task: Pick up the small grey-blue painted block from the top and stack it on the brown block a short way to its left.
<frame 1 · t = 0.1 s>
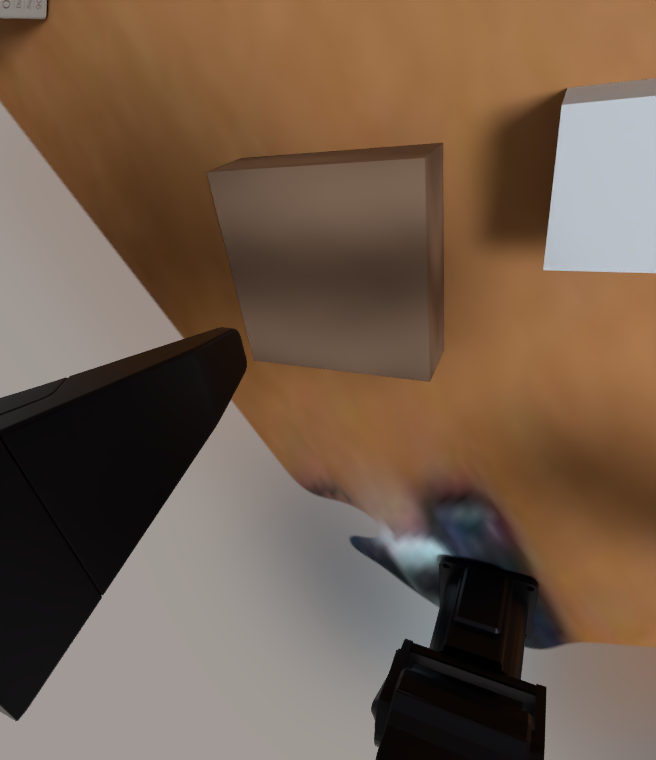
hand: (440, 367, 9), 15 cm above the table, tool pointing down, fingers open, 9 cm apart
grey-blue block: (632, 157, 18), on the table
brown block: (345, 257, 25), on the table
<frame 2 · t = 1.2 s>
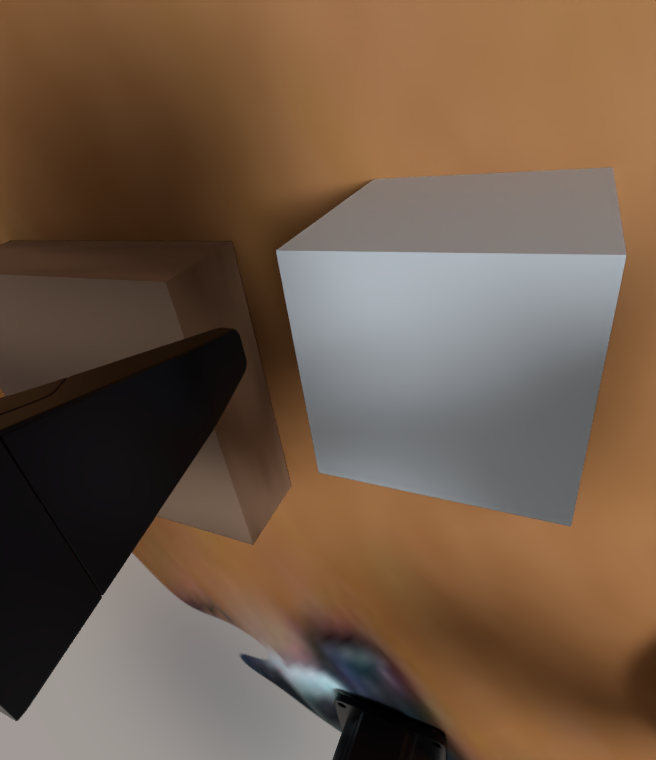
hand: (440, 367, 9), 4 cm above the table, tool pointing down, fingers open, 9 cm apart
grey-blue block: (478, 280, 12), on the table
brown block: (155, 367, 19), on the table
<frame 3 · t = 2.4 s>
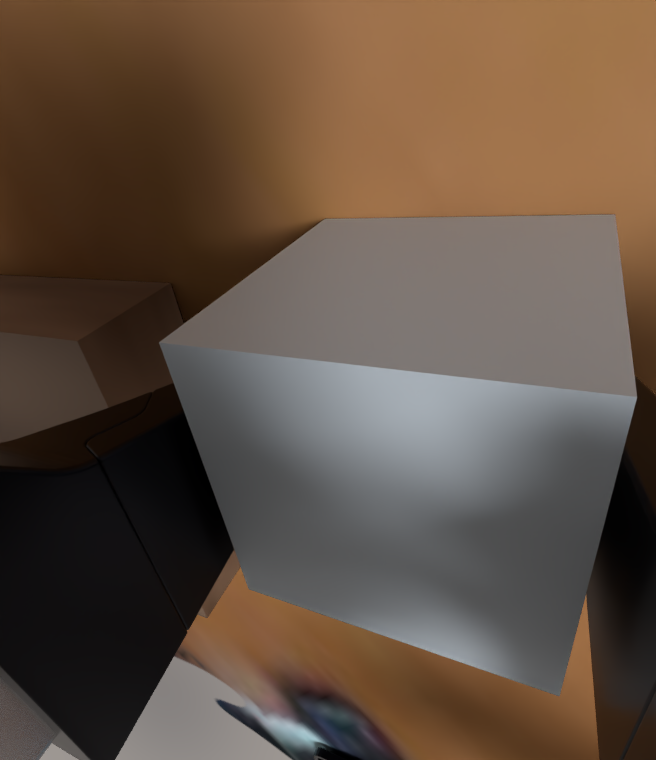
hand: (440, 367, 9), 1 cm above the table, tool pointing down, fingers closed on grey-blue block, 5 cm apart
grey-blue block: (452, 340, 10), on the table, touching gripper
brown block: (102, 413, 17), on the table
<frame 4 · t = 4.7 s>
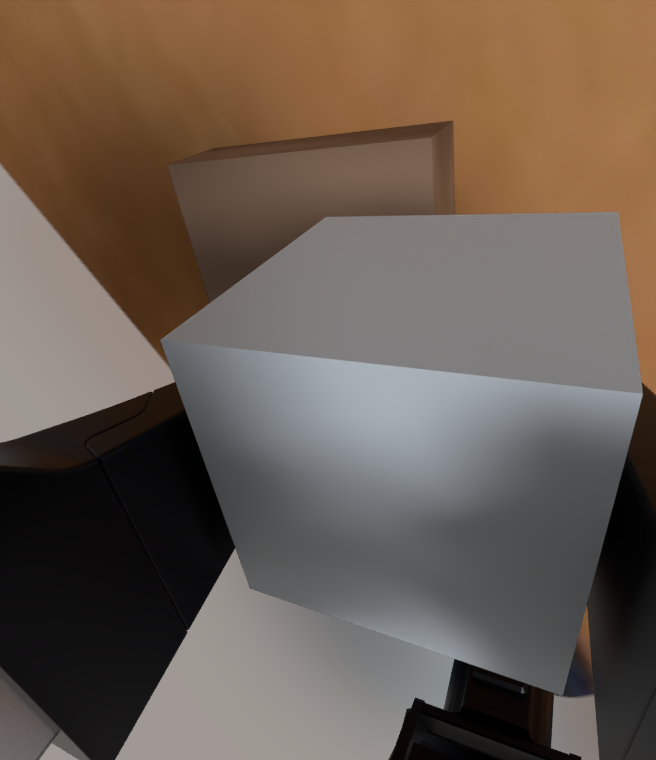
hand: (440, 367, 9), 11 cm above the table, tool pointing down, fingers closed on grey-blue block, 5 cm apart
grey-blue block: (453, 339, 10), point 10 cm above the table, touching gripper
brown block: (338, 262, 21), on the table
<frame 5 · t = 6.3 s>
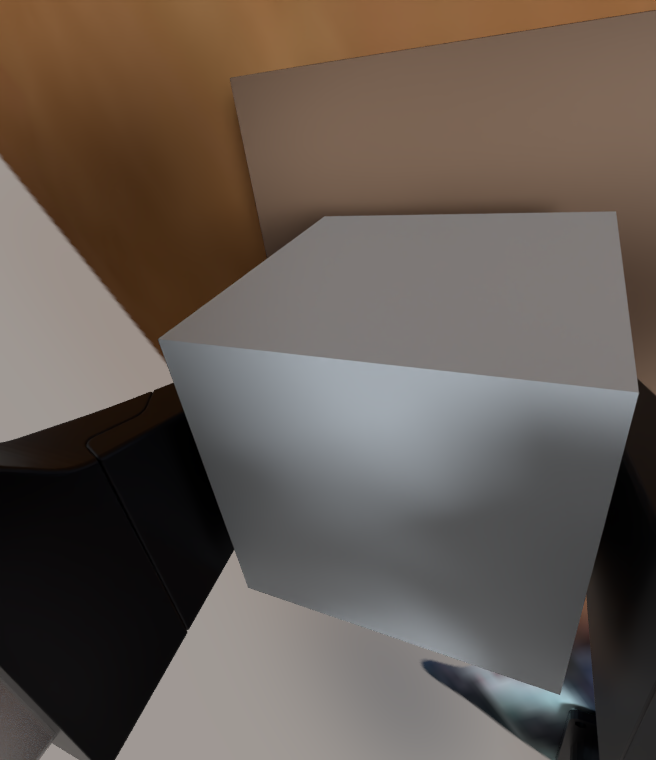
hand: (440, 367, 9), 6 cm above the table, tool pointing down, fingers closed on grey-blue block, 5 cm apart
grey-blue block: (452, 338, 10), point 5 cm above the table, touching gripper
brown block: (486, 258, 13), on the table
when the fingers open (5 cm above the table, at t = 7.2 s): grey-blue block drops 1 cm, resting on brown block.
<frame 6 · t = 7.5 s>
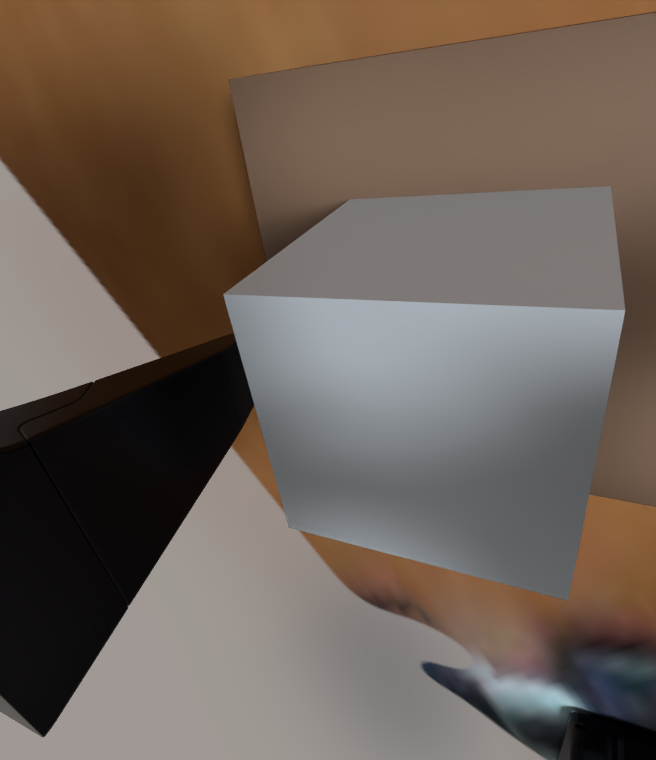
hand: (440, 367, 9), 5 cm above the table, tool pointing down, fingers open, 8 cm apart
grey-blue block: (466, 308, 11), point 3 cm above the table, touching brown block
brown block: (486, 260, 13), on the table
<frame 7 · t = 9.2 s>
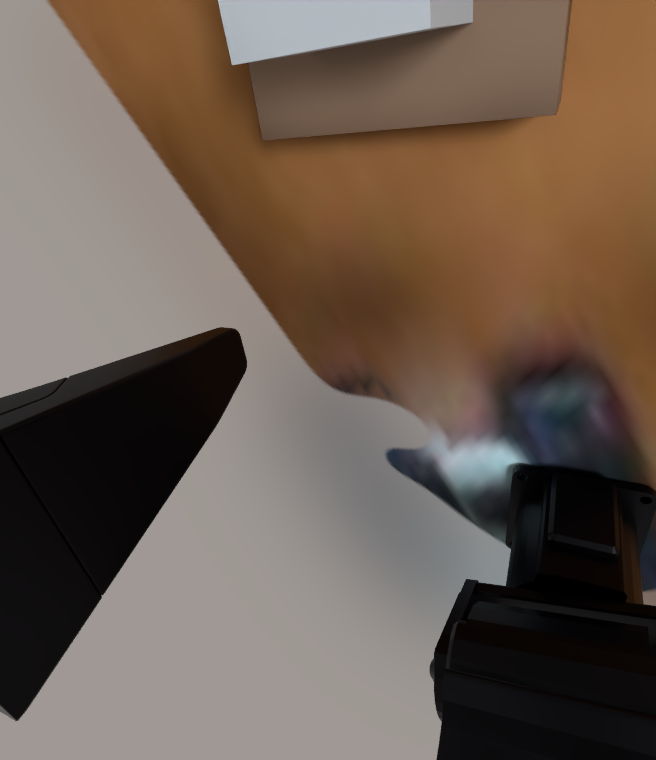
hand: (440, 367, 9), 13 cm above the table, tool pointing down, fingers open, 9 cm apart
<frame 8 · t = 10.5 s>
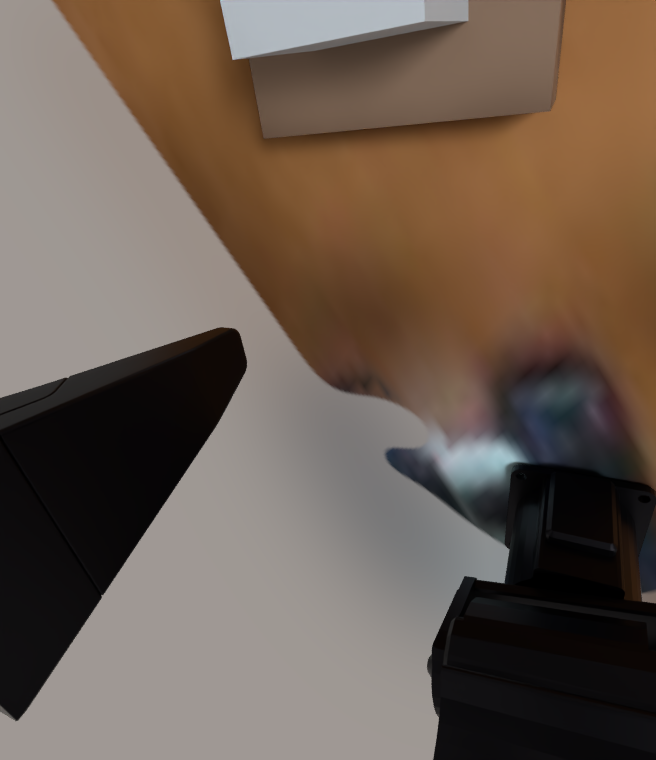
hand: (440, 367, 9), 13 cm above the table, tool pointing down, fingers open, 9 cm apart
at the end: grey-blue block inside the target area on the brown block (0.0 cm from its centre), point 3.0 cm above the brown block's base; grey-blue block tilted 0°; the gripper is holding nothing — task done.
